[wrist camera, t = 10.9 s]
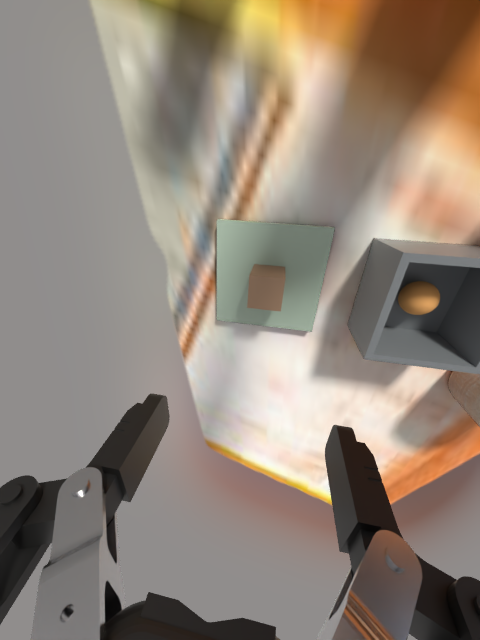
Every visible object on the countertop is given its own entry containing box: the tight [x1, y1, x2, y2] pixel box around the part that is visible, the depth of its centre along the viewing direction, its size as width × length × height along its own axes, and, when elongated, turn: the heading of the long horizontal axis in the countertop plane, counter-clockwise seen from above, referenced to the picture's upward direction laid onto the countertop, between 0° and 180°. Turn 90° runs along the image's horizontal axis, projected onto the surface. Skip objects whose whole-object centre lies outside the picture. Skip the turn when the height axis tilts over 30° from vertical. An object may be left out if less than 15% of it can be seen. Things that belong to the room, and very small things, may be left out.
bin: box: [347, 238, 480, 374], centre depth 27 cm, size 12×12×8 cm
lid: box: [217, 219, 335, 332], centre depth 30 cm, size 14×14×7 cm
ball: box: [398, 281, 440, 315], centre depth 28 cm, size 4×4×4 cm
